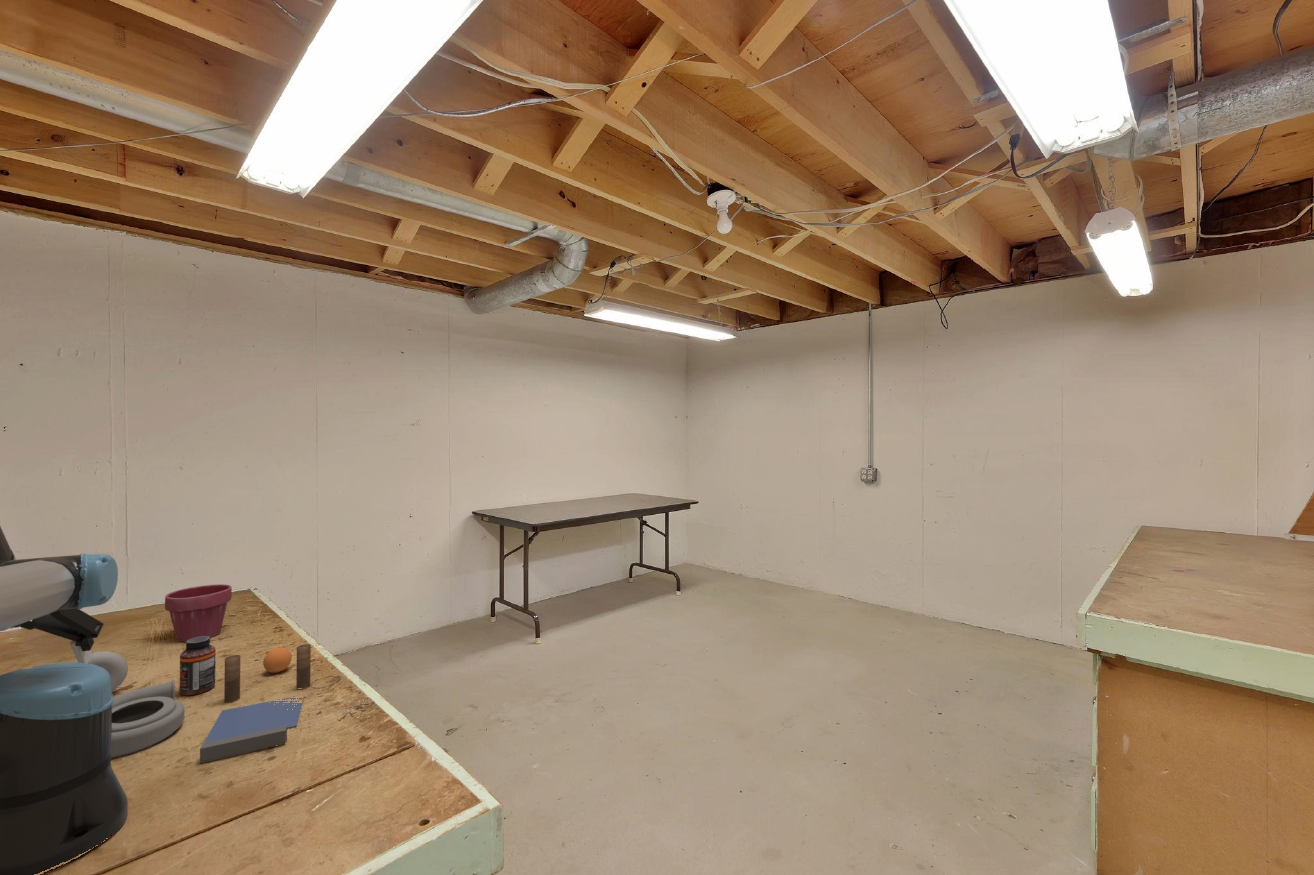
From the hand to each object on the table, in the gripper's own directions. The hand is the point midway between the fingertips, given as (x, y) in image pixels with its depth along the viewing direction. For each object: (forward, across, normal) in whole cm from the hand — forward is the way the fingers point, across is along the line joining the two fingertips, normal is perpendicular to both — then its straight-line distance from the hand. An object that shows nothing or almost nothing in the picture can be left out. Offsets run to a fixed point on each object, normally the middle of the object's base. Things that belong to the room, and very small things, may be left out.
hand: (32, 666), depth 91 cm
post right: (+18, -38, +1) cm, 43 cm away
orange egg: (+23, -32, -10) cm, 41 cm away
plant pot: (+47, -8, -39) cm, 62 cm away
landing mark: (+11, -32, +11) cm, 36 cm away
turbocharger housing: (+14, -12, +8) cm, 20 cm away
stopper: (+4, -33, +21) cm, 39 cm away
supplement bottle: (+23, -18, -6) cm, 30 cm away
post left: (+18, -26, +1) cm, 32 cm away
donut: (+26, 0, -9) cm, 28 cm away
